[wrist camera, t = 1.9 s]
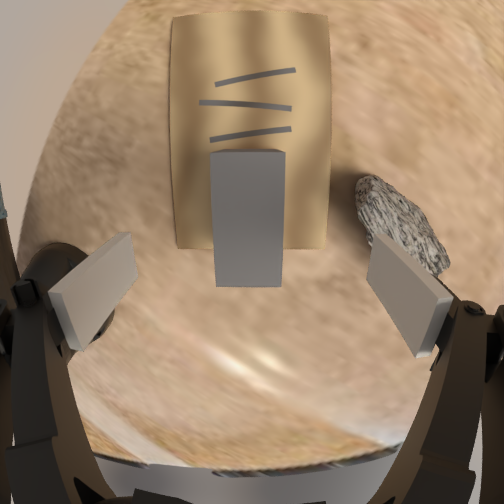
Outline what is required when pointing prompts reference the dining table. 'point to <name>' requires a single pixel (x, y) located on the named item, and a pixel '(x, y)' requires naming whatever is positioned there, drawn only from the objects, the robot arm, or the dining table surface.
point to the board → (251, 113)
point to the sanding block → (248, 216)
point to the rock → (398, 222)
